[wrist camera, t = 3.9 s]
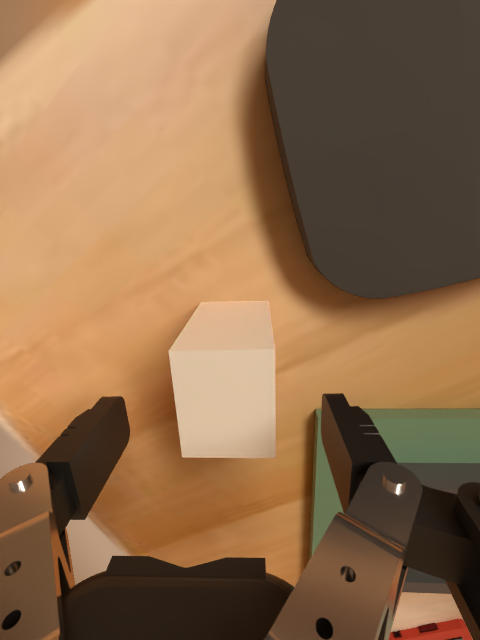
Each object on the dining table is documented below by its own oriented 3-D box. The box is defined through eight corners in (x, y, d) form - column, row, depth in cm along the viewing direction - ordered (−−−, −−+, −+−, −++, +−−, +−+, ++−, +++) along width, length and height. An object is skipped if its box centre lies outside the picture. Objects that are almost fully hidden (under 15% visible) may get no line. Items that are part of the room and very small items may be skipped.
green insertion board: (315, 409, 20) (325, 441, 17) (575, 408, 19) (630, 442, 16) (308, 574, 25) (314, 619, 22) (512, 580, 24) (546, 629, 21)
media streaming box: (315, 304, 18) (326, 320, 15) (243, 9, 14) (240, -44, 11) (589, 228, 16) (660, 231, 13) (603, -147, 12) (713, -262, 9)
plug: (201, 302, 18) (168, 351, 11) (268, 300, 18) (274, 349, 11) (208, 383, 20) (183, 466, 13) (269, 382, 20) (275, 467, 13)
